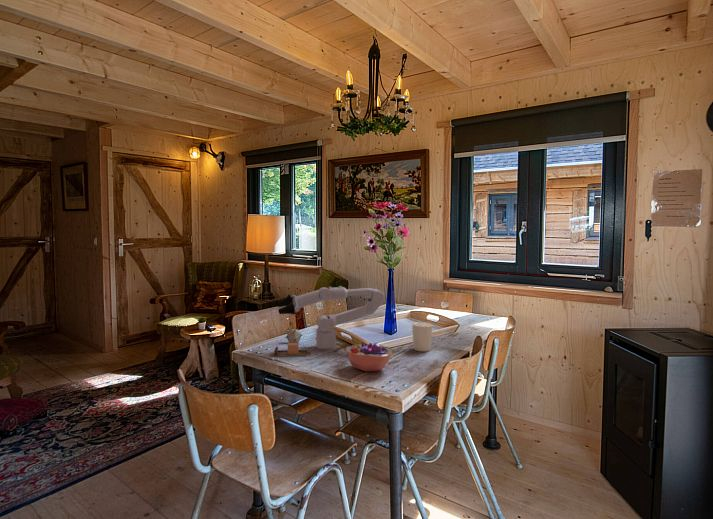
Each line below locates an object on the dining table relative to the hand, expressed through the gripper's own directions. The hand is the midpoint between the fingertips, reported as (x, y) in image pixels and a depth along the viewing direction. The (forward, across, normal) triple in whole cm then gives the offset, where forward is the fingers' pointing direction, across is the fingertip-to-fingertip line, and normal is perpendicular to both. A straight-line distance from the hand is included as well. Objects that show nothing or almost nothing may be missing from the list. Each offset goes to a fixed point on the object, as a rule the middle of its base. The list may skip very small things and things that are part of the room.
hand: (278, 308), depth 201 cm
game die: (-1, -6, +24) cm, 25 cm away
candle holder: (-60, +17, +35) cm, 71 cm away
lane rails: (0, +14, +18) cm, 23 cm away
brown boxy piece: (0, +15, +18) cm, 23 cm away
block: (-1, +14, +17) cm, 22 cm away
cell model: (-29, +39, +20) cm, 53 cm away
